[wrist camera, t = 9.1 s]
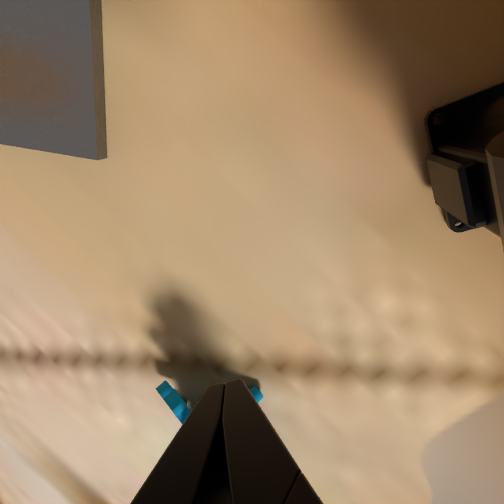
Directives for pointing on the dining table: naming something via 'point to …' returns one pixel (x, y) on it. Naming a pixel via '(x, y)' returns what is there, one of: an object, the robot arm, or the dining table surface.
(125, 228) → the dining table surface
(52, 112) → the plate
